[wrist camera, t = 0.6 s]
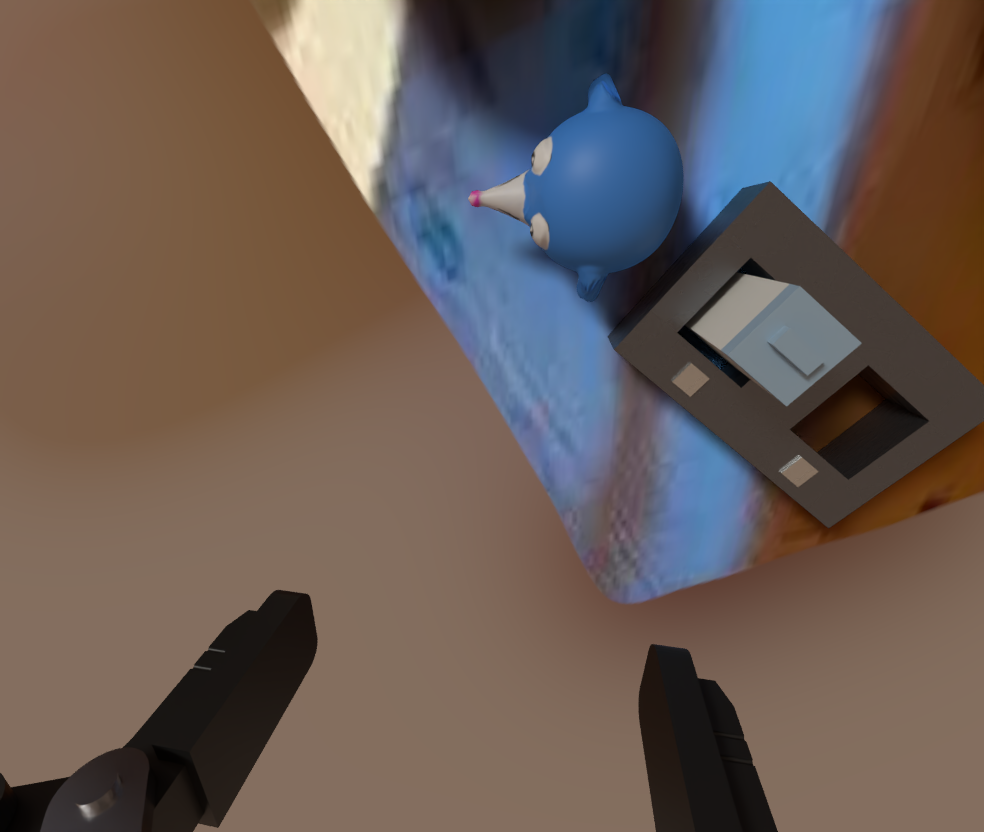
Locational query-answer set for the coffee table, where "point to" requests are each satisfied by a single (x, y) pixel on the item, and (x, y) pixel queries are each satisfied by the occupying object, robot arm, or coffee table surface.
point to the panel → (767, 422)
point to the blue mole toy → (597, 189)
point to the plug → (772, 334)
